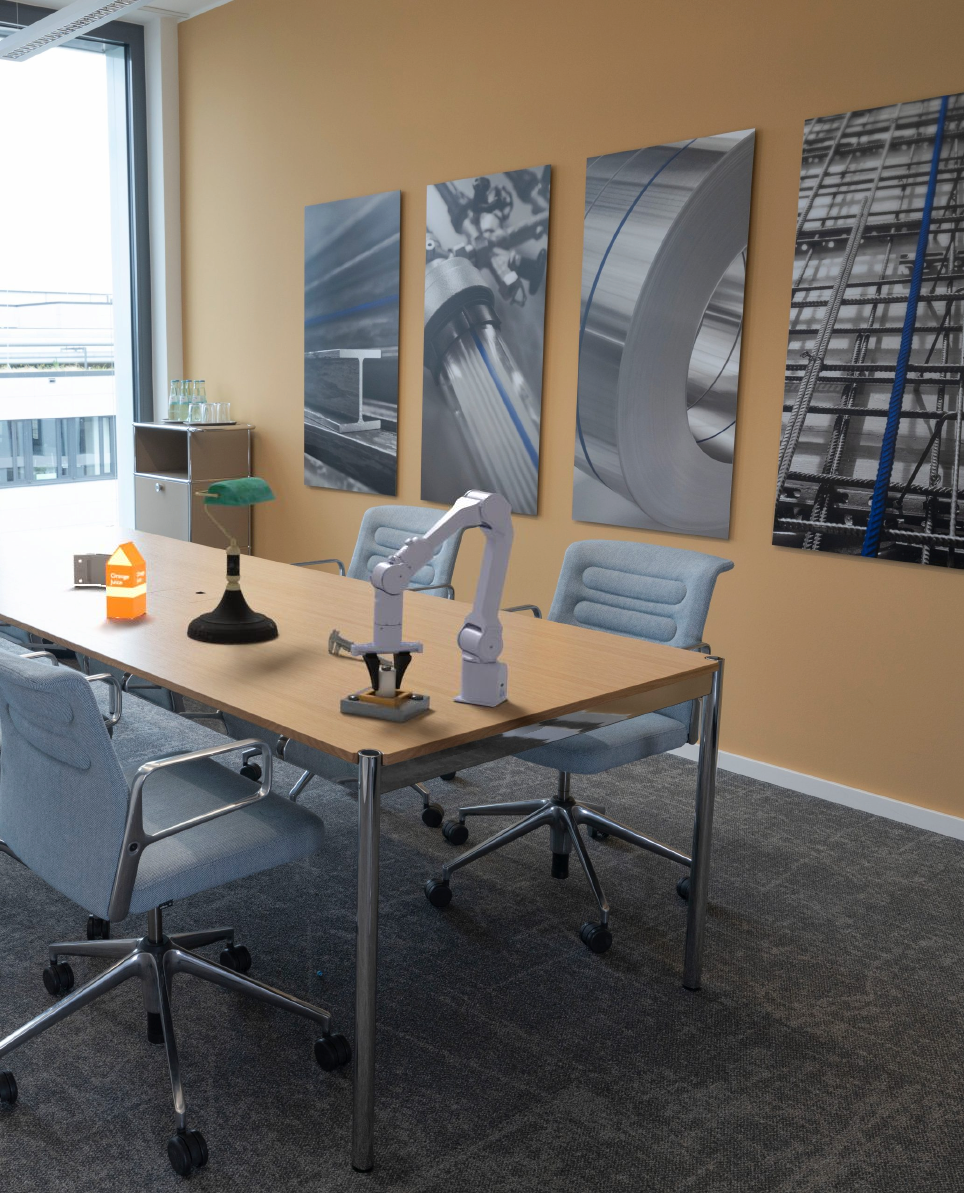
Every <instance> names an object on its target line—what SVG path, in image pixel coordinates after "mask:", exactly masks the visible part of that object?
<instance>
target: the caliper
mask: <svg viewBox="0 0 964 1193" xmlns="http://www.w3.org/2000/svg"><path fill="white" fill-rule="evenodd" d="M327 641H328V646H327V652H328V653H329V654H332V653H333V655H338V654H339V652H340V651H341V649H343V650H344V651H346V652H348V653H351V645H357V644H355V642H354V641H353V640H351V639H349V638H347V637H344V636H343V635H340V630H337V628H335V629H332V632H331V633H330V634H329V638H328V640H327ZM377 656H378V659H379V660H380V661H381V662H380V665H382V666H390V667H391V668H392V667H393V668H394V662H393V660H391V659H389V658H388V657H385V656H383V655H382V654H377Z"/></svg>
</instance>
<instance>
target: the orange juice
mask: <svg viewBox="0 0 964 1193" xmlns="http://www.w3.org/2000/svg"><path fill="white" fill-rule="evenodd" d="M111 555H112V556H111V558H110V559H109V561H108V562H107V564H106V588H105V594H106V595H105V596H106V598H105V599H106V602H105V604H106V618H107V617H119V618H118V619H121V618H135V617H137V616H139V615H141V614H143V613H145V612H146V613H147V562H146V560H145V559H144V558H143V556H142V554H141V552H139V550H138V548H137V547H136V545H135V544H134V542H133V541H128V542H125V543H122V544H119V545H118V546H117V548H116V549H115V550H114V552H112V554H111ZM139 617H140V616H139ZM137 618H138V617H137ZM135 619H136V618H135Z"/></svg>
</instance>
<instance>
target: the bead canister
mask: <svg viewBox="0 0 964 1193" xmlns="http://www.w3.org/2000/svg"><path fill="white" fill-rule="evenodd" d="M395 693H396V669H394V667H393V668H392V666H386V665H382V666H380V667H379V688H378V691H376V696H378V697H384V698H390V699H393V698H395Z"/></svg>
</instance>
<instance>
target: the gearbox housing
mask: <svg viewBox="0 0 964 1193" xmlns="http://www.w3.org/2000/svg"><path fill="white" fill-rule="evenodd" d="M430 699H431V696H430V695H424V694H420V693H413V691H411V690H405V689H398V690H397V689H396V693H395V698H393V699H390V698H384V697H378V696H376V691H374V690H373V689H372V686H367V687H365V688H363V689H361V690H358V691H357V692H355V693H353V694H348V695H347V696H346V697H344V698H341V699H340V703H339V704H340V706H339V708H340V710H339V713H344V714H350V715H356V716H360V717H361V716H362V717H367V718H373V719H379V720H386V721H390V722H397V723H401V724H403V723H405V722H407V721H409V720H411V719H413V718H414V717H416V716H418V715H419V714H422V713H423V712H425V711H426V710H428V709H430V701H431V700H430Z"/></svg>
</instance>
